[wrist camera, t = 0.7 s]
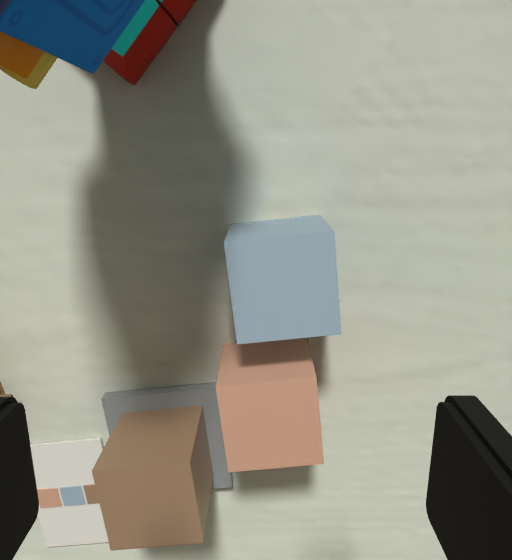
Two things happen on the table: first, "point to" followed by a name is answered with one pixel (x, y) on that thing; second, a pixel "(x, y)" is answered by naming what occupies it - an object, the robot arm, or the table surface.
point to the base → (160, 465)
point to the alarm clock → (1, 392)
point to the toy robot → (85, 35)
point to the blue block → (283, 279)
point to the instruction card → (68, 492)
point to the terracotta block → (269, 405)
